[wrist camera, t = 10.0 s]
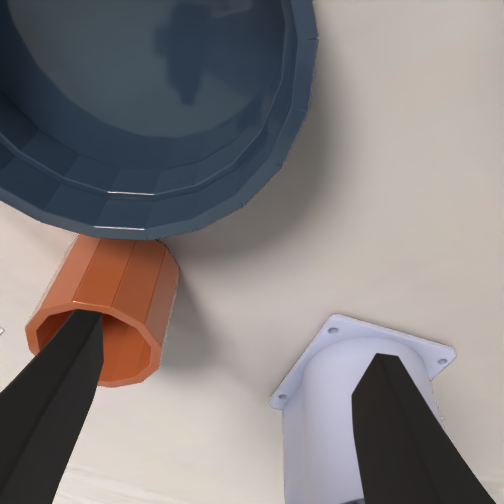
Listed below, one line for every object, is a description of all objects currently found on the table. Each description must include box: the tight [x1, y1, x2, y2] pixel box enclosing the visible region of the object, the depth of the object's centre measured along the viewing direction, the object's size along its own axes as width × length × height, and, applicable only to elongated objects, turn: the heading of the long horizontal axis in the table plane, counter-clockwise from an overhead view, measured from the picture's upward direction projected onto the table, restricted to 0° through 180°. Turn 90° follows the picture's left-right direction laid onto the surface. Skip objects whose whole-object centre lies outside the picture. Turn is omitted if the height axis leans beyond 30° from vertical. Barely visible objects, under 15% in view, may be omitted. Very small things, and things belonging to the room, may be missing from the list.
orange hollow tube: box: [25, 234, 180, 388], centre depth 21 cm, size 6×6×5 cm
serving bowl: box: [0, 0, 318, 241], centre depth 14 cm, size 12×12×4 cm
